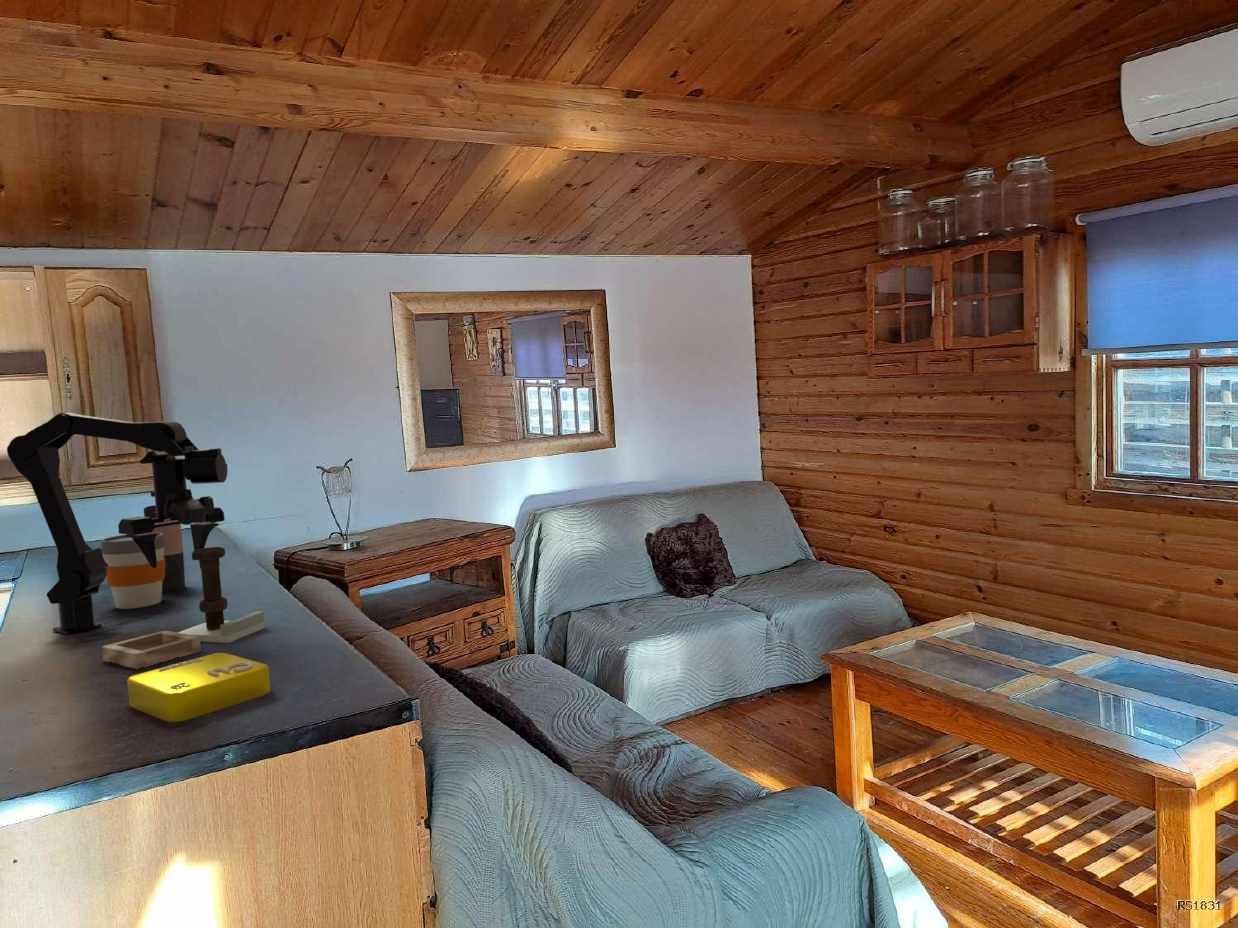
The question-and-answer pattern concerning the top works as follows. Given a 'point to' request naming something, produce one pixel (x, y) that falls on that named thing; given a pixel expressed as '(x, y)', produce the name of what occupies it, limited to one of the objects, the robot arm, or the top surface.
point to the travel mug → (170, 554)
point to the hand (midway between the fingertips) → (177, 563)
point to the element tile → (198, 686)
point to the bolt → (211, 585)
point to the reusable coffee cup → (133, 571)
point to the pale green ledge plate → (229, 629)
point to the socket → (151, 649)
